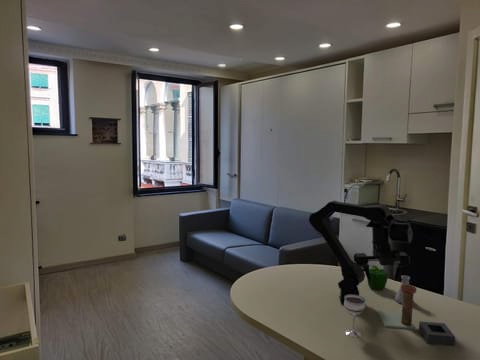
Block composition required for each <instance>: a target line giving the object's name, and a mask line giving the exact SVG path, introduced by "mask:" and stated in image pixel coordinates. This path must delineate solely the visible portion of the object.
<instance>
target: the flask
mask: <svg viewBox="0 0 480 360" xmlns="http://www.w3.org/2000/svg"><path fill="white" fill-rule="evenodd" d="M400 278H401V283H400V286H399V288H398V290H397V292H396V294H395V296H394V301H395V302H396V303H398V304H403V291H402V290H401V286H402V285H410V280H411V277H410V276H409V275H401V277H400ZM413 303H414V300H413Z"/></svg>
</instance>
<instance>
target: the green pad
mask: <svg viewBox="0 0 480 360" xmlns="http://www.w3.org/2000/svg"><path fill="white" fill-rule="evenodd" d="M377 314H378V316H379V318H380V320H381V322H382V324H383V327H385V328H394V329H405V330H416V326H415V325H414V322H412V323H411V325H410V326H406V325H403V324H402V323H401V319H402V312H395V311H383V310H382V311H381V310H378V311H377Z"/></svg>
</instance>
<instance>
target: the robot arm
mask: <svg viewBox="0 0 480 360" xmlns="http://www.w3.org/2000/svg"><path fill="white" fill-rule="evenodd" d="M335 213H339V214H343V215H344V214H346V215H351V216H357V217H362V218H365V219H366V220H367V221H369V223H367V224H366V225H365V227H367V228H372V229H371V230H372V231H371V232H372V233H371V234H372V235H371V236H372V240H371V243H372V255H367V254H366V253H365V252H361V253H360V252H359V253H357V252H356V253H354V254H353V260H352V259H351V257H350V256H349V254H348V253H347V250H346V249H345V247H344V246H343V244H342V243H341V241H340V239H339V238H338V236H337V234H336V233H335V231H334V230H333V227H332V220H331V218H330V217H331V216H333V215H334V214H335ZM308 218H309V219H308V222H309V224H310V225H311V227H312V228H313V229H314V230H315V231H316V232H318V233H319V234H320V235H321V236H322V239H323V240H324V241H325V243H326V245H327V246H328V247H329V249H330V251H331V253H332V254H333V256H334V257H335V259H336V261H337V262H338V264H339V265H340V271H341V275H342V278H343V279H342V280H340V281H339V282H338V283H337V285H338V289H340V290H339V296H338V298H339V302H340V304H341V305H344V301H345V298H344V297H345V296H346V295H349V294H353V295H359V296H360V290H359V287H358V286H359V285H360V284H361V283H362V282H363V281H365V278H366V280H367V279H368V281H369V282H370V273H369V269H370V264H369V262H378V263H379V265H380V266H383V267H384V266H392V267H393V268H392V271H393V272H392V273H393V275H392V276H393V277H392V278H393V281H394V282H396V281H397V278H398V277H399V274H400V272H401V270H402V268H403V267H405V266H407V264H411V257H410V256H409V254H407V253H406V252H404V251H399V250H393V249H392V248H391V247H392V246H391V243H390V240H392V241H393V242H399V243H406V244H411V243H412V240H413V236H414V235H413V233H414V232H413V230H412V227H411V223H409V222H398V221H397V220H396V218H395V217H394V216H393V215H392V212H391V210H390V208H389V206H388V205H385V204H368V205H363V204H357V203H349V202H342V201H337V200H332V201H329V202H327V203H326V205H324V206H323V207H321V208H320V209H319V210H317V211H315V212H313V213H310V215H309V217H308ZM368 281H367V282H368Z"/></svg>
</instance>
